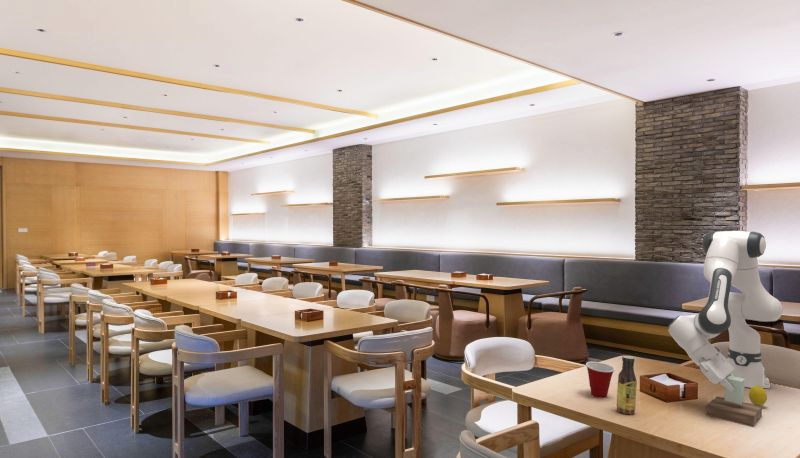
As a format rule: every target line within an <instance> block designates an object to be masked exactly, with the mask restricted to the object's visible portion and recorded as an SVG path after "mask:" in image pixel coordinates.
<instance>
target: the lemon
mask: <svg viewBox="0 0 800 458" xmlns="http://www.w3.org/2000/svg"><path fill="white" fill-rule="evenodd" d="M767 395H768V394H767V392H766V389H765V388H762V387H760V386H759V385H757V386H754V387H752V388H750V390H749V393H748V397H749V400H750V402H751V404H753V405H758V406H763V405H764V404H766V402H767V400H768V396H767Z"/></svg>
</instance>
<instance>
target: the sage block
mask: <svg viewBox="0 0 800 458" xmlns="http://www.w3.org/2000/svg"><path fill="white" fill-rule="evenodd" d="M726 380H727V381H728V382H729V383H730V384H731V385H733V386H734V387H735V390H733V391H732V392H730V391H729V390H728V389H727V388H726V387H724V398H725V401H729V402H734V403H738V404H742V403H743V402H744V403H745V388H746V387H745V379H744V378H739V377H734V376H727V377H726Z"/></svg>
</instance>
